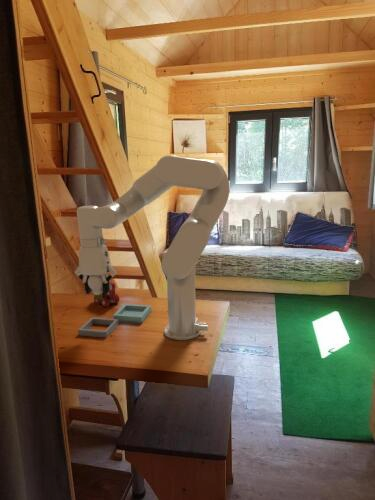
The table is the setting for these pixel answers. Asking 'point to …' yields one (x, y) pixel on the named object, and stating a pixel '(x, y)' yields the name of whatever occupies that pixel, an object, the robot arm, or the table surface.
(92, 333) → the holder
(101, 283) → the light bulb
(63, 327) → the table surface
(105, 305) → the toy fire truck
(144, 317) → the tray
